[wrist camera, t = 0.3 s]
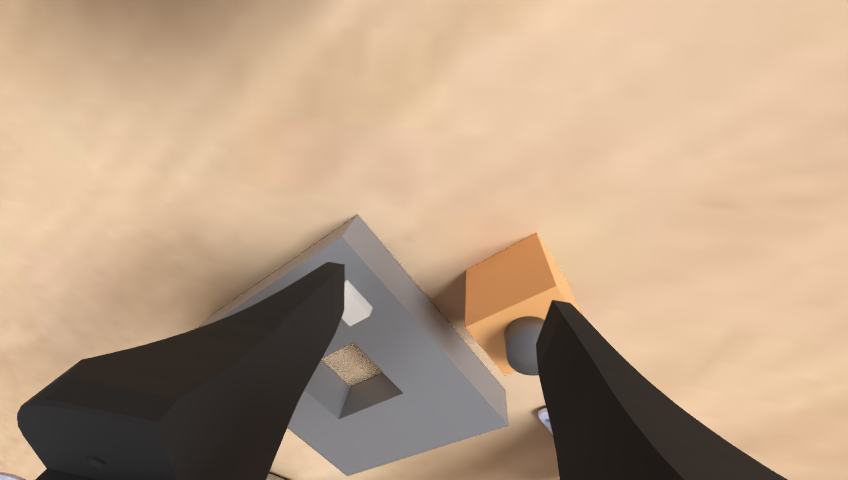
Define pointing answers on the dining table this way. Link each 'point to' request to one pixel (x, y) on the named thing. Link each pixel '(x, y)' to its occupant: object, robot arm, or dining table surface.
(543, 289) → the plug
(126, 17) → the dining table surface
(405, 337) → the socket plate
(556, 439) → the robot arm
